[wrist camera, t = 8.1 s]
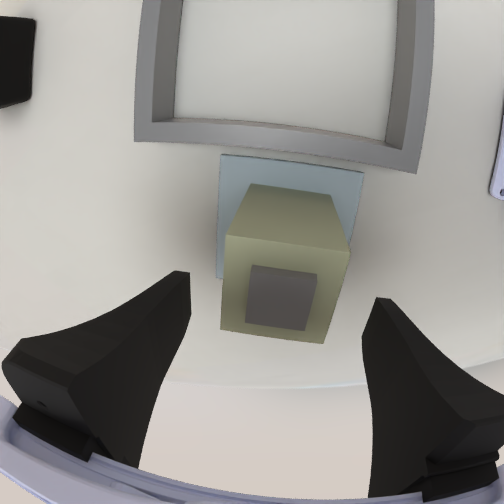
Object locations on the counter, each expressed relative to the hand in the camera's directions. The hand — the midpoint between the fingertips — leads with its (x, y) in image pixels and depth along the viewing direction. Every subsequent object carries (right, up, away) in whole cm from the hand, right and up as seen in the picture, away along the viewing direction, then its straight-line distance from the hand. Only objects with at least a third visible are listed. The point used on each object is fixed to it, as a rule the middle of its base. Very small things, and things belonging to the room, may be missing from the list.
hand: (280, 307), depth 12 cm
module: (+1, +4, +6) cm, 8 cm away
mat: (+1, +4, +7) cm, 8 cm away
